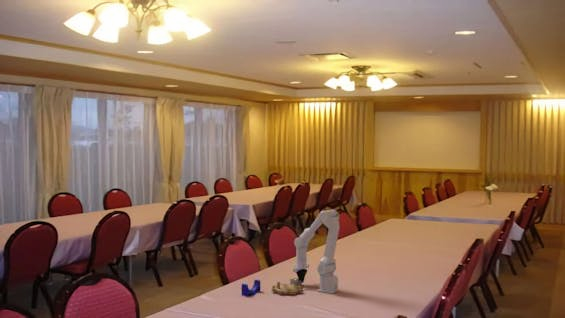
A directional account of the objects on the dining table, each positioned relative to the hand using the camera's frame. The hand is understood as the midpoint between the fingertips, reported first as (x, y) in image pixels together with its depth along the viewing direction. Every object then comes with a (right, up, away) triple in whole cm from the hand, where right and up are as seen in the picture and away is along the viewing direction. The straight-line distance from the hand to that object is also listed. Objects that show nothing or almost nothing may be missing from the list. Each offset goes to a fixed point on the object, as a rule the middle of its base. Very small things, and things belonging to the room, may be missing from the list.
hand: (301, 282), depth 314 cm
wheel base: (-8, -2, -13) cm, 16 cm away
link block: (-3, -2, -2) cm, 4 cm away
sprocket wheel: (-8, -2, -13) cm, 16 cm away
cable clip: (-27, -2, -17) cm, 32 cm away
